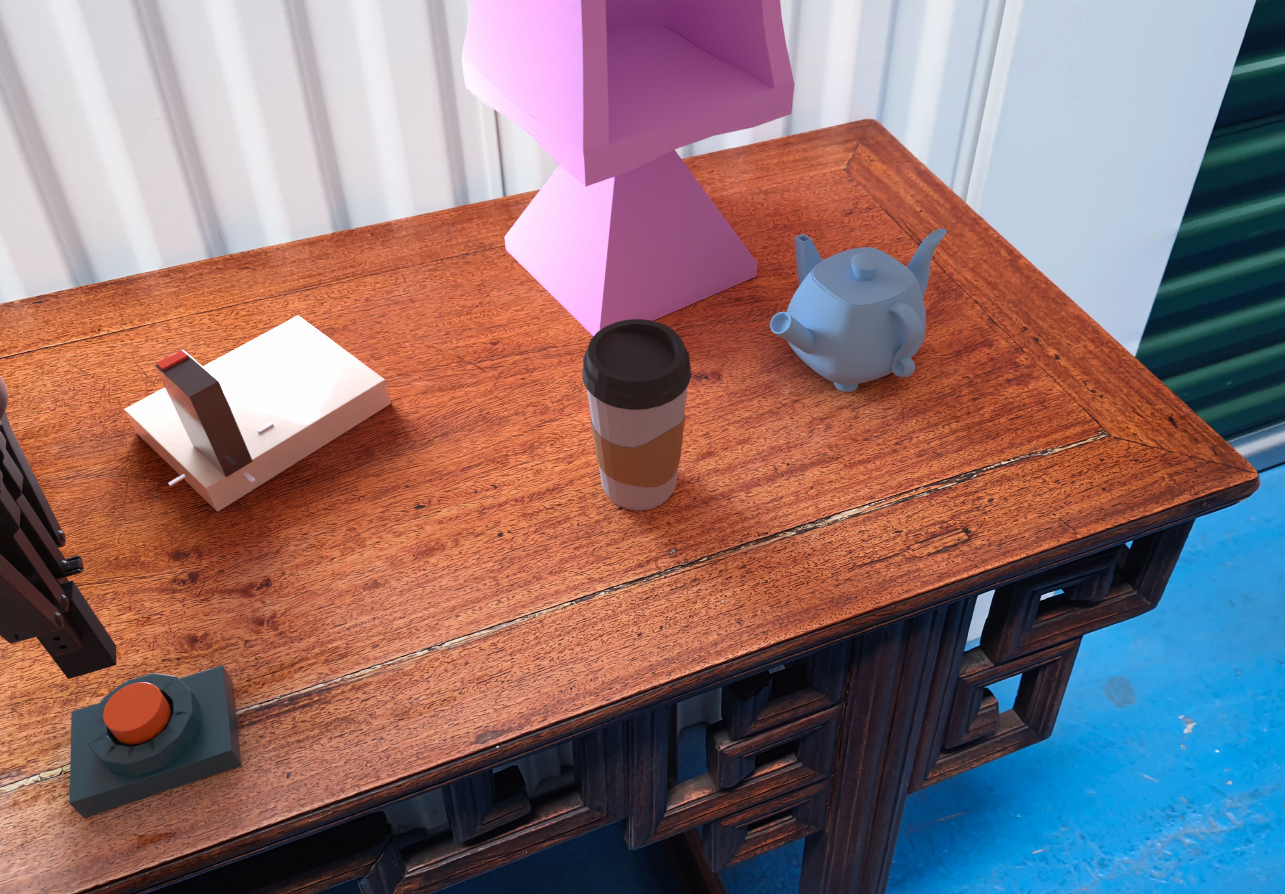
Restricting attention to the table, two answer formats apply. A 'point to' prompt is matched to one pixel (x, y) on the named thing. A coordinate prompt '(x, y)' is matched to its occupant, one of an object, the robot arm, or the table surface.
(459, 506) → the table surface
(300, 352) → the switch panel
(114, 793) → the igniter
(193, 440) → the dark slab
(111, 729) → the button
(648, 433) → the coffee cup
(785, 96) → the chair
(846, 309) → the teapot
